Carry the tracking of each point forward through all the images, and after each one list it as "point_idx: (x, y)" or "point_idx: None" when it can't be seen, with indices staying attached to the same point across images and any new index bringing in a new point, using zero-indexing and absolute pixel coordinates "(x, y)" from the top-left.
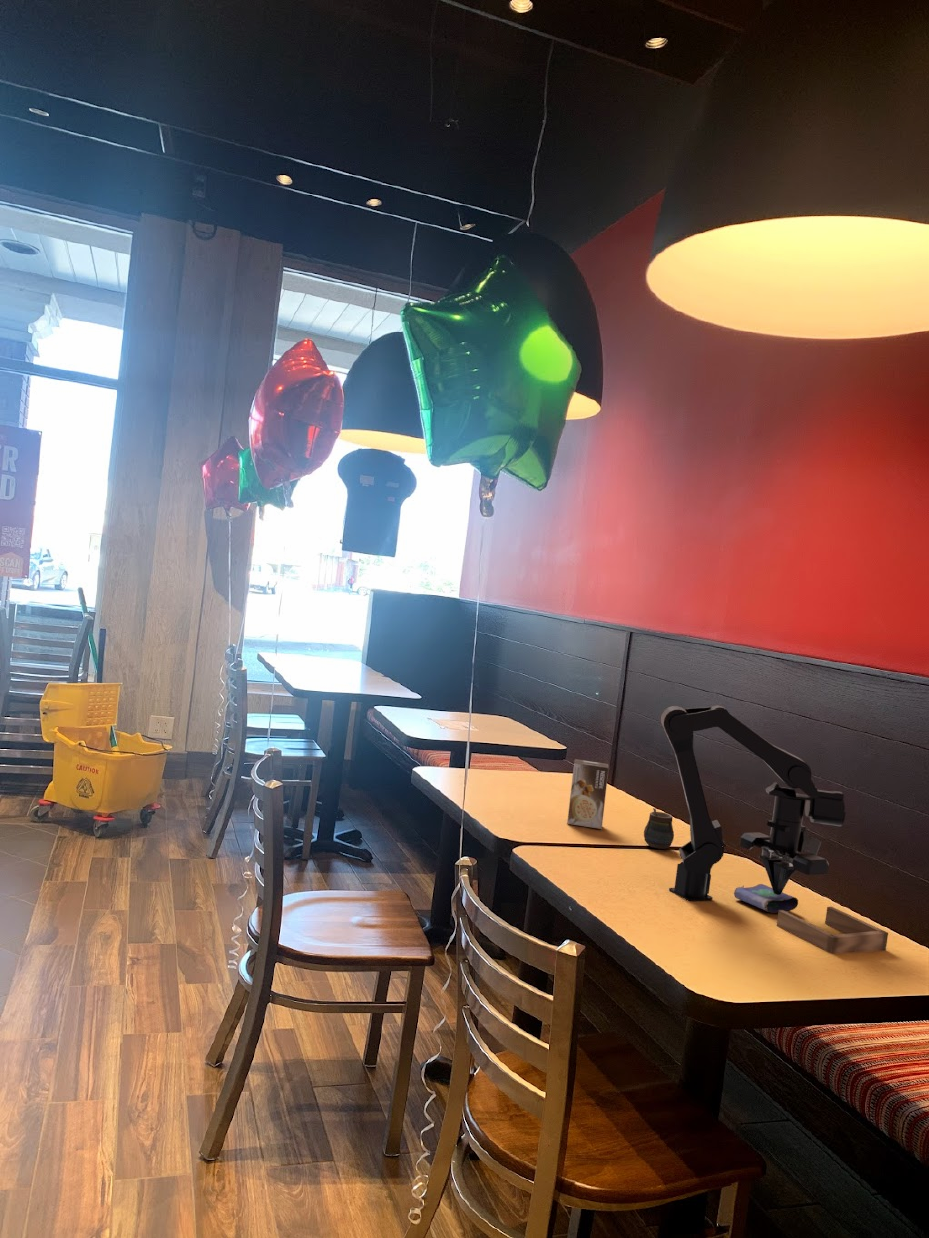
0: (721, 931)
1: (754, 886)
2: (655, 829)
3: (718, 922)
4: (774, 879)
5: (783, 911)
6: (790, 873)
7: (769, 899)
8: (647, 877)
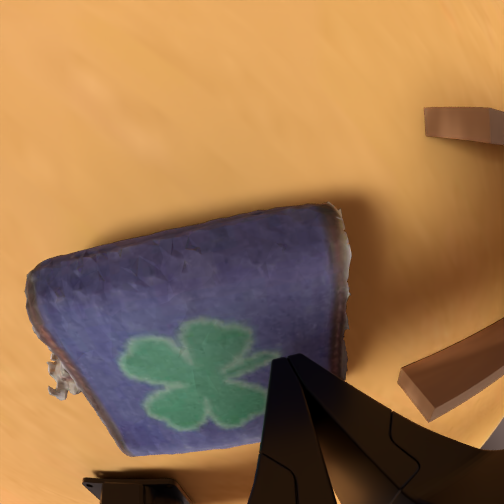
0: None
1: (69, 368)
2: None
3: None
4: (333, 484)
5: (440, 409)
6: (449, 461)
7: None
8: (22, 483)
